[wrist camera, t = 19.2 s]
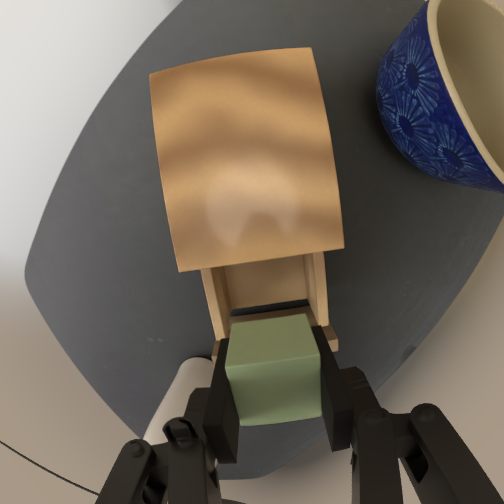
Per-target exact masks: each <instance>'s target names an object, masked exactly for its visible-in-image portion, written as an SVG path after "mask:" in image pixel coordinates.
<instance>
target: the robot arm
mask: <svg viewBox="0 0 504 504" xmlns="http://www.w3.org/2000/svg"><path fill="white" fill-rule="evenodd" d="M311 330H312V332H313V335H314V338H315V341H316V344H317V347H318V350H319V353H320V362H321V367H320V371H321V410H322V414H323V418H324V421H325V425H326V429H327V433H328V438H329V441H330V445H331V449H332V452H334V451H339V450H343V449H347V448H350V442H351V445H352V448H353V452H352V459H351V464H352V504H403V495H402V486H401V478H400V470H399V463H398V458H400V460H401V462H402V464H403V466H404V468H405V471H406V472H407V475H408V476H409V479H410V481H411V483H412V485H413V487H414V489H415V491H416V493H417V495H418V497H419V500H420V502H421V504H504V501H503V500H502V498H501V496H500V495H499V493H498V492H497V490H496V488H495V487H494V486H493V484H492V482H491V481H490V479H489V478H488V476H487V475H486V473H485V472H484V470H483V469H482V467H481V466H480V464H479V463H478V461H477V460H476V459H475V457H474V456H473V454H472V453H471V451H470V450H469V449H468V447H467V446H466V444H465V443H464V442H463V440H462V439H461V437H460V436H459V435H458V433H457V432H456V431H455V429H454V428H453V426H452V425H451V424H450V422H449V421H448V420H447V418H446V417H445V416H444V414H443V413H442V412H441V410H440V409H439V408H438V407H437V406H435V405H433V404H428V403H423V404H419V405H417V406H416V407H414V408H413V409H412V411H411V413H407V414H392V413H389V412H388V411H387V410H385V409H384V408H381V407H380V405H379V403H378V401H377V399H376V397H375V395H374V393H373V391H372V389H371V387H370V386H369V383H368V381H367V380H366V377H365V375H364V373H363V371H361V370H360V369H358V368H357V367H356V366H355V367H350V368H346V369H341V370H339V367H338V365H337V362H336V360H335V358H334V355H333V353H332V350H331V348H330V346H329V343H328V341H327V338H326V336H325V334H324V331H323V329H322V327H321V325H318V326H312V327H311ZM229 339H230V338H222V339H221V340H220V345H219V349H218V354H217V358H216V363H215V367H214V372H213V376H212V381H211V385H210V387H203V388H195V389H194V391H193V392H192V393H191V394H190V396H189V399H188V404H187V406H186V410H185V413H184V416H183V417H175V418H172V419H170V420H169V421H167V422H166V423H165V424H164V426H163V429H162V431H163V432H164V434H165V436H166V438H167V440H168V442H165V443H161V444H156V445H150V444H149V443H148V442H147V441H145V440H142V439H134V440H131V441H129V442H128V443H126V444H125V445H124V446H123V448H122V450H121V452H120V454H119V456H118V458H117V460H116V462H115V464H114V466H113V468H112V470H111V472H110V474H109V476H108V478H107V480H106V482H105V484H104V486H103V488H102V490H101V492H100V494H98V493H96V492H94V491H91V490H89V489H87V488H84V487H82V486H80V485H78V484H76V483H73V482H71V481H69V480H67V479H65V478H63V477H61V476H59V475H57V474H55V473H53V472H52V471H50V470H47V469H46V468H44V467H42V466H41V465H39V464H37V463H35V462H34V461H32V460H30V459H29V458H27V457H25V456H24V455H22V454H20V453H19V452H17V451H15V450H14V449H12V448H11V447H9V446H8V445H6V444H5V443H3V442H1V441H0V443H1V444H3V445H5V446H6V447H8V448H9V449H11V450H12V451H14V452H15V453H17V454H18V455H20V456H22V457H23V458H25V459H27V460H28V461H30V462H32V463H33V464H35V465H37V466H39V467H41V468H42V469H44V470H46V471H48V472H49V473H51V474H53V475H55V476H57V477H59V478H61V479H63V480H65V481H67V482H69V483H71V484H73V485H75V486H77V487H80V488H81V489H84V490H86V491H88V492H91V493H93V494H95V495H98V498H97V500H96V503H95V504H167V502H168V504H222V499H221V493H220V486H219V480H218V473H217V470H216V467H215V461H216V459H217V461H218V463H219V464H229V463H236V461H237V447H238V434H239V416H238V413H237V409H236V406H235V402H234V398H233V395H232V391H231V388H230V384H229V380H228V377H227V373H226V370H225V363H226V357H227V351H228V345H229Z"/></svg>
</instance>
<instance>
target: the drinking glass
mask: <svg viewBox="0 0 504 504" xmlns="http://www.w3.org/2000/svg"><path fill="white" fill-rule="evenodd" d="M213 372H214V364H213V362H212V361H210V360H208V359H206V358H201V357H194V358H190V359H187V360H186V361H184V362H183V363H182V364H181V366H180V368H179V370H178V373H177V375H176V377H175V379H174V381H173V382H172V384H171V386H170V388H169V390H168V391H167V393H166V395H165V397H164V398H163V400H162V402H161V404H160V406H159V407H158V409H157V411H156V413H155V414H154V416H153V418H152V420H151V422H150V424H149V426H148V428H147V430H146V433H145V435H144V438H143V440H145V441H147V442H148V443H149V444H150V445H156V444H161V443H165V442H168V440H167V438H166V436H165V434H164V432H163V431H162V429H163V426H164V424H165V423H166V422H167V421H169V420H170V419H172V418H175V417H183V416H184V413H185V410H186V406H187V404H188V399H189V396H190V394H191V393H192V392H193V391H194V389H195V388H203V387H210V385H211V381H212V376H213ZM216 465H217V459H216V461H215V467H216Z"/></svg>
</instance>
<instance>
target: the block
mask: <svg viewBox="0 0 504 504" xmlns="http://www.w3.org/2000/svg"><path fill="white" fill-rule="evenodd" d="M320 367H321V362H320V353H319V350H318V347H317V344H316V341H315V338H314V335H313V332H312V330H311V327H310V324H309V321H308V318H307V315H306V314H305V313H304V314H298V315H291V316H285V317H278V318H271V319H263V320H256V321H248V322H240V323H233V324H232V327H231V333H230V339H229V345H228V351H227V357H226V363H225V370H226V373H227V377H228V380H229V384H230V388H231V391H232V395H233V398H234V402H235V406H236V409H237V413H238V416H239V420H240V424H241V426H249V425H261V424H271V423H280V422H287V421H294V420H301V419H307V418H313V417H319V416H321V415H322V410H321V371H320Z"/></svg>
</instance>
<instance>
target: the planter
mask: <svg viewBox="0 0 504 504" xmlns="http://www.w3.org/2000/svg"><path fill="white" fill-rule="evenodd" d="M375 92H376V103H377V108H378V112H379V116H380V119H381V121H382V124H383V126H384V128H385V130H386V133H387V134H388V136H389V138H390V139H391V141H392V142H393V144H394V145H395V146H396V148H397V149H398V150H399V152H400V153H401V154H402V155H403V156H404V157H405V158H406V159H407V160H408V161H409V162H411V163H412V164H413V165H414V166H416V167H417V168H418V169H420V170H421V171H423V172H425V173H426V174H428V175H430V176H432V177H434V178H437V179H439V180H442V181H445V182H449V183H453V184H459V185H464V186H469V187H474V188H479V189H484V190H489V191H493V192H497V193H502V194H504V12H503V11H502V10H501V9H500V8H499V7H497V6H496V5H495V4H494V3H492V2H491V1H489V0H427V1H426V3H425V4H424V5H423V6H422V7H421V9H420V10H419V11H418V12H417V14H416V15H415V16H414V17H413V18H412V20H411V21H410V22H409V23H408V25H407V26H406V27H405V28H404V30H403V31H402V32H401V33H400V35H399V36H398V37H397V38H396V39H395V41H394V42H393V43H392V44H391V46H390V47H389V49H388V50H387V52H386V53H385V54H384V56H383V59H382V61H381V63H380V66H379V69H378V72H377V77H376V88H375Z"/></svg>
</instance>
